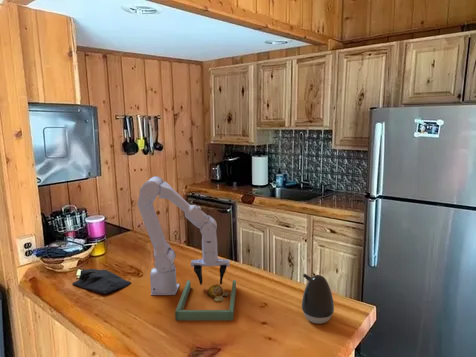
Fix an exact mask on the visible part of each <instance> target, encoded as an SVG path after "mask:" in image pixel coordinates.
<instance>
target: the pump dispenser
mask: <svg viewBox="0 0 476 357" xmlns="http://www.w3.org/2000/svg"><path fill="white" fill-rule="evenodd" d="M302 276H303V278H305V279H306V280H307V281H308V282H307V283H306V286H305V288H304V291H303V295H302V299H301V300H302V301H301V309H302V310H301V311H302V312H303V315H304V317H305V318H306V319H307V321H309V322H311V323H314V324H317V325H318V324H325V323H327V322H329V320H330V319H331V318H332V316H333V314H334V312H335V306H334V305H335V303H334V297H333V293H332V290H331V287H330V285H329V282H328V281H327V279H326V278H325V276H323V275H321V274H314V275H313V276H312V277H311V276H309V275H307V274H306V273H303V275H302Z"/></svg>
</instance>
